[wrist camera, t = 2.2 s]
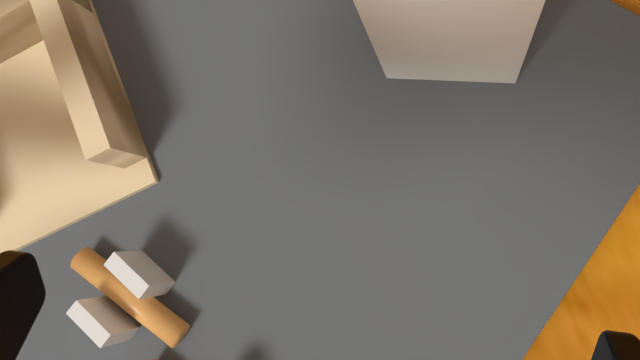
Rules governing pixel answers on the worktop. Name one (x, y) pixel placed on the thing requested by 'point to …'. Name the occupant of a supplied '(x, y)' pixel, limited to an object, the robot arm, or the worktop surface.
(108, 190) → the end holder
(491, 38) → the white square bottle
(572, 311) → the worktop surface
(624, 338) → the robot arm
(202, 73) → the slate mat
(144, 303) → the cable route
